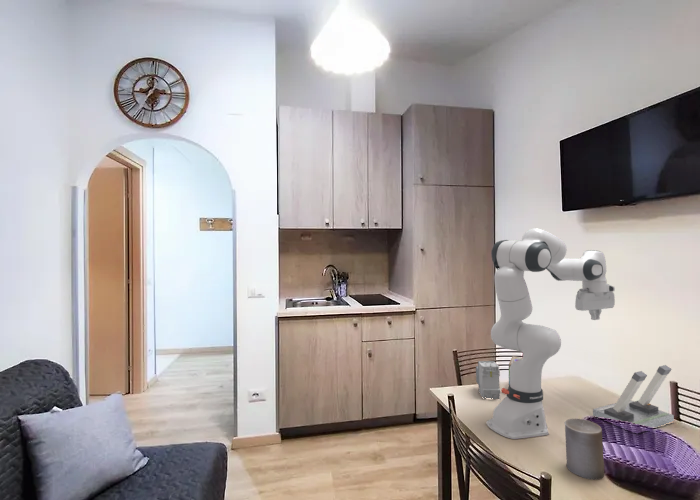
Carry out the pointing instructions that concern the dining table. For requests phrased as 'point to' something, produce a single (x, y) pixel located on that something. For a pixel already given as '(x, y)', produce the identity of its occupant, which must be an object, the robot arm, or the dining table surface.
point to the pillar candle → (584, 448)
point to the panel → (636, 414)
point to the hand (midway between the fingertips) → (595, 319)
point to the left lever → (630, 391)
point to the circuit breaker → (488, 379)
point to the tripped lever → (654, 384)
